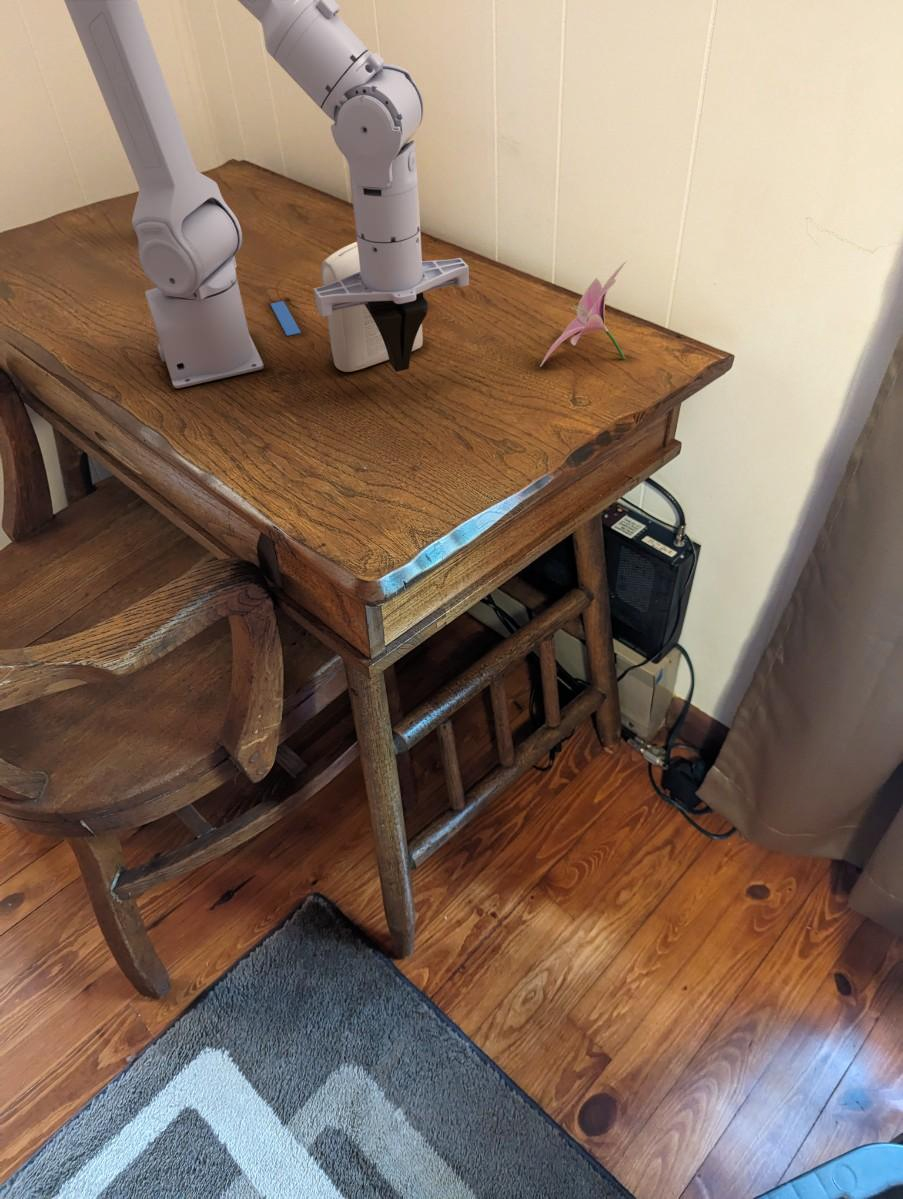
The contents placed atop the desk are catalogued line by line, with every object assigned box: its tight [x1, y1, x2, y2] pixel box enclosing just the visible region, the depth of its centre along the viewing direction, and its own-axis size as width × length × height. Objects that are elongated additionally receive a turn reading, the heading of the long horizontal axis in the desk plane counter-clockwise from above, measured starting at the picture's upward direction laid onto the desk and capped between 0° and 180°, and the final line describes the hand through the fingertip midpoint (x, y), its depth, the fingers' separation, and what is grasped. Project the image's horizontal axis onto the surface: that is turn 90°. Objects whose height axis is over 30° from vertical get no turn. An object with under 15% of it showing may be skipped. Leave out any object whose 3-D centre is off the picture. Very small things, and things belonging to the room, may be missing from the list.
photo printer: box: [320, 241, 424, 373], centre depth 89 cm, size 10×4×12 cm, turn 123°
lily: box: [539, 261, 627, 368], centre depth 89 cm, size 12×12×10 cm
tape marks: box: [269, 300, 302, 337], centre depth 101 cm, size 16×8×1 cm, turn 112°
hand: (399, 365), depth 87 cm, fingers closed
